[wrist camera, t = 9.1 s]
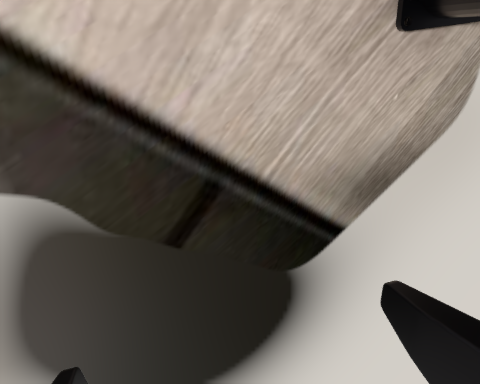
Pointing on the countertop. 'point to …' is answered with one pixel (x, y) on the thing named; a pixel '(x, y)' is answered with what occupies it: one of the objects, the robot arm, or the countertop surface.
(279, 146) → the countertop surface
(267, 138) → the countertop surface
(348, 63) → the countertop surface
